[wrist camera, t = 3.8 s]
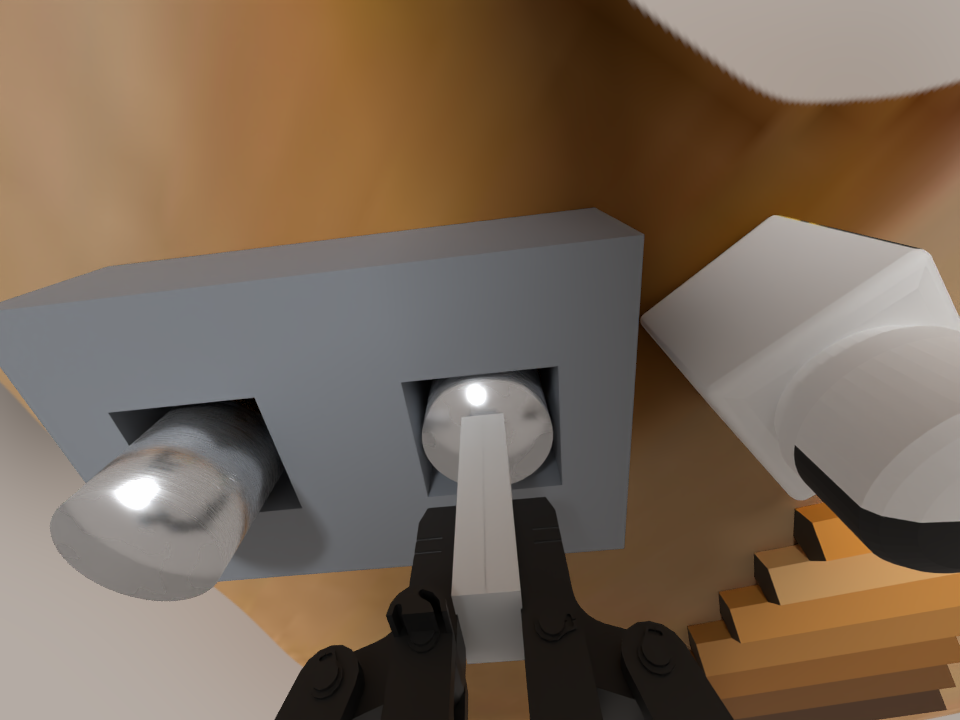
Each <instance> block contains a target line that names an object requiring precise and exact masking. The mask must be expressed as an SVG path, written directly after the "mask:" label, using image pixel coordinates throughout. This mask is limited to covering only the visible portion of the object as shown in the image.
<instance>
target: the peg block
mask: <svg viewBox="0 0 960 720" xmlns="http://www.w3.org/2000/svg"><path fill="white" fill-rule="evenodd" d="M643 248H644V234H642V233H641V232H639V231H637V230H635V229H633V228H631V227H630V226H628V225H626V224H624V223H622V222H620V221H619V220H617V219H615V218H613V217H611V216H609V215H608V214H606V213H604V212H602V211H600V210H598V209H597V208H595V207H594V208H586V209H578V210H570V211H561V212H553V213H545V214H537V215H528V216H520V217H512V218H504V219H496V220H487V221H479V222H471V223H463V224H454V225H446V226H438V227H430V228H421V229H413V230H405V231H397V232H389V233H380V234H372V235H364V236H356V237H347V238H339V239H331V240H323V241H315V242H306V243H298V244H290V245H282V246H273V247H265V248H257V249H249V250H241V251H232V252H224V253H216V254H208V255H199V256H191V257H183V258H175V259H167V260H158V261H150V262H142V263H134V264H125V265H117V266H109V267H105V268H102V269H99V270H96V271H93V272H90V273H87V274H84V275H81V276H78V277H75V278H72V279H69V280H66V281H63V282H60V283H57V284H54V285H51V286H48V287H44V288H41V289H38V290H35V291H32V292H29V293H26V294H23V295H20V296H17V297H14V298H11V299H8V300H5V301H2V302H0V367H1V369H2V370H3V371H4V373H5V374H6V375H7V377H8V378H9V380H10V381H11V382H12V384H13V385H14V386H15V388H16V389H17V390H18V392H19V393H20V394H21V396H22V397H23V399H24V400H25V401H26V403H27V404H28V405H29V407H30V408H31V409H32V411H33V412H34V414H35V415H36V416H37V418H38V419H39V420H40V422H41V423H42V424H43V426H44V427H45V428H46V430H47V431H48V433H49V434H50V435H51V437H52V438H53V439H54V441H55V442H56V443H57V445H58V446H59V447H60V449H61V450H62V452H63V453H64V454H65V456H66V457H67V458H68V460H69V461H70V462H71V464H72V465H73V466H74V468H75V469H76V470H77V472H78V473H79V475H80V476H81V477H82V479H83V480H84V481H85V483H87V482H88V481H89V480H90V479H92V478H93V477H94V476H95V475H96V474H97V473H98V472H100V471H101V470H102V469H103V468H104V467H105V466H107V465H108V464H109V463H110V462H111V461H112V460H113V459H115V458H116V457H117V456H118V455H119V454H120V453H122V452H123V451H124V450H125V449H126V448H127V447H128V446H130V445H131V444H132V443H133V442H134V441H135V440H137V439H138V438H139V437H140V436H141V435H142V434H144V433H145V432H146V431H147V430H148V429H149V428H150V427H152V426H153V425H154V424H155V423H156V422H157V421H159V420H160V419H161V418H162V417H163V416H164V415H165V414H167V413H168V412H169V411H170V410H171V409H172V408H174V407H175V406H178V405H187V404H197V403H207V402H216V401H226V400H236V399H245V398H255V400H256V402H257V405H258V407H259V409H260V412H261V414H262V416H263V419H264V421H265V423H266V425H267V428H268V430H269V432H270V435H271V437H272V439H273V442H274V444H275V446H276V449H277V451H278V453H279V455H280V458H281V460H282V462H283V465H284V467H285V468H284V471H283V473H282V474H281V476H280V478H279V479H278V481H277V483H276V484H275V486H274V488H273V489H272V491H271V493H270V494H269V496H268V498H267V499H266V501H265V503H264V504H263V506H262V508H261V510H260V511H259V513H258V515H257V516H256V518H255V520H254V521H253V523H252V525H251V526H250V528H249V530H248V531H247V533H246V535H245V536H244V538H243V540H242V542H241V543H240V545H239V547H238V548H237V550H236V552H235V553H234V555H233V557H232V558H231V560H230V562H229V563H228V565H227V567H226V568H225V570H224V572H223V573H222V575H221V577H220V578H219V580H218V582H219V581H231V580H243V579H256V578H268V577H280V576H292V575H305V574H317V573H329V572H342V571H354V570H366V569H379V568H391V567H403V566H412V565H413V558H414V555H415V553H414V552H415V545H416V542H417V532H418V526H419V522H420V520H421V519H422V517H423V515H424V514H425V512H426V510H427V509H428V508H435V507H446V506H456V505H457V487H458V482H455V481H453V480H451V479H449V478H448V477H446V476H445V475H443V474H442V473H441V472H439V471H438V470H437V469H436V468H435V467H434V466H433V465H432V463H431V462H430V460H429V459H428V457H427V455H426V453H425V451H424V448H423V443H422V429H423V424H424V418H425V413H426V408H427V403H428V398H429V393H430V388H431V382H432V379H439V378H448V377H458V376H468V375H477V374H487V373H497V372H506V371H516V370H526V369H535V368H540V372H541V385H542V389H543V393H544V397H545V401H546V404H547V408H548V412H549V416H550V420H551V423H552V429H553V441H552V446H551V449H550V452H549V454H548V456H547V458H546V459H545V461H544V462H543V463H542V465H541V466H540V467H539V468H538V469H537V470H536V471H534V472H533V473H532V474H531V475H529V476H528V477H526V478H524V479H522V480H520V481H518V482H516V483H513V484H511V489H512V499H513V500H514V499H525V498H536V497H546V498H547V499H548V501H549V502H550V503H551V505H552V506H553V507H554V509H555V510H556V515H557V520H558V524H559V529H560V534H561V538H562V543H563V548H564V553H575V552H588V551H600V550H612V549H624V544H625V528H626V513H627V497H628V482H629V466H630V450H631V435H632V419H633V404H634V388H635V373H636V357H637V342H638V326H639V310H640V295H641V279H642V264H643Z"/></svg>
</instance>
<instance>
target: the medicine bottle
mask: <svg viewBox="0 0 960 720" xmlns="http://www.w3.org/2000/svg"><path fill="white" fill-rule="evenodd" d="M640 322H641V325H642V326H643V327H644V329H645V330H646V331H647V332H648V333H649V335H650V336H651V337H652V338H653V339H654V340H655V342H656V343H657V344H658V345H659V346H660V348H661V349H662V350H663V351H664V352H665V353H666V355H667V356H668V357H669V358H670V359H671V361H672V362H673V363H674V364H675V365H676V366H677V368H678V369H679V370H680V371H681V372H682V374H683V375H684V376H685V377H686V378H687V379H688V381H689V382H690V383H691V384H692V385H693V387H694V388H695V389H696V390H697V391H698V392H699V394H700V395H701V396H702V397H703V398H704V400H705V401H706V402H707V403H708V404H709V405H710V407H711V408H712V409H713V410H714V411H715V412H716V413H717V414H718V416H719V417H720V418H721V419H722V420H723V421H724V422H725V424H726V425H727V426H728V427H729V428H730V429H731V430H732V431H733V433H734V434H735V435H736V436H737V437H738V438H739V439H740V440H741V442H742V443H743V444H744V445H745V446H746V447H747V448H748V449H749V451H750V452H751V453H752V454H753V455H754V456H755V457H756V459H757V460H758V461H759V462H760V463H761V464H762V465H763V466H764V468H765V469H766V470H767V471H768V472H769V473H770V474H771V475H772V477H773V478H774V479H775V480H776V481H777V482H778V483H779V484H780V486H781V487H782V488H783V489H784V490H785V491H786V492H787V494H788V495H789V496H791V497H792V498H794V499H796V500H806V499H808V498H810V497H812V496H814V495H817V496H818V497H819V498H820V499H821V500H822V501H823V502H824V503H825V504H826V505H827V506H828V507H829V508H830V509H831V510H832V511H833V512H834V514H835V515H836V516H837V517H838V518H839V519H840V520H841V521H842V522H843V523H844V524H845V525H846V526H847V527H848V528H849V529H850V530H851V531H852V532H853V533H854V534H855V535H856V536H857V537H858V538H859V539H860V540H861V541H862V543H863V544H864V545H865V546H866V547H867V548H868V549H869V550H870V551H871V552H872V553H873V554H875V555H876V556H878V557H879V558H881V559H883V560H885V561H887V562H890V563H892V564H895V565H899V566H902V567H906V568H909V569H913V570H917V571H921V572H929V573H960V318H959V315H958V313H957V311H956V309H955V307H954V304H953V302H952V300H951V298H950V296H949V293H948V291H947V289H946V287H945V285H944V283H943V280H942V278H941V276H940V274H939V272H938V269H937V267H936V265H935V263H934V261H933V259H932V256H931V255H930V254H929V253H928V252H926V251H925V250H923V249H920V248H916V247H912V246H908V245H903V244H899V243H895V242H891V241H887V240H882V239H878V238H874V237H870V236H865V235H861V234H857V233H853V232H849V231H844V230H840V229H836V228H832V227H827V226H823V225H819V224H815V223H811V222H806V221H802V220H798V219H794V218H790V217H785V216H781V215H774V216H771V217H769V218H768V219H766V220H765V221H764V222H762V223H761V224H760V225H758V226H757V227H756V228H755V229H753V230H752V231H751V232H749V233H748V234H747V235H746V236H744V237H743V238H742V239H740V240H739V241H738V242H736V243H735V244H734V245H733V246H731V247H730V248H729V249H727V250H726V251H725V252H724V253H722V254H721V255H720V256H718V257H717V258H716V259H714V260H713V261H712V262H711V263H709V264H708V265H707V266H705V267H704V268H703V269H701V270H700V271H699V272H698V273H696V274H695V275H694V276H692V277H691V278H690V279H689V280H687V281H686V282H685V283H683V284H682V285H681V286H679V287H678V288H677V289H676V290H674V291H673V292H672V293H670V294H669V295H668V296H666V297H665V298H664V299H663V300H661V301H660V302H659V303H657V304H656V305H655V306H654V307H652V308H651V309H650V310H648V311H647V312H646V313H644V314H643V315H642V317H641V319H640Z"/></svg>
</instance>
